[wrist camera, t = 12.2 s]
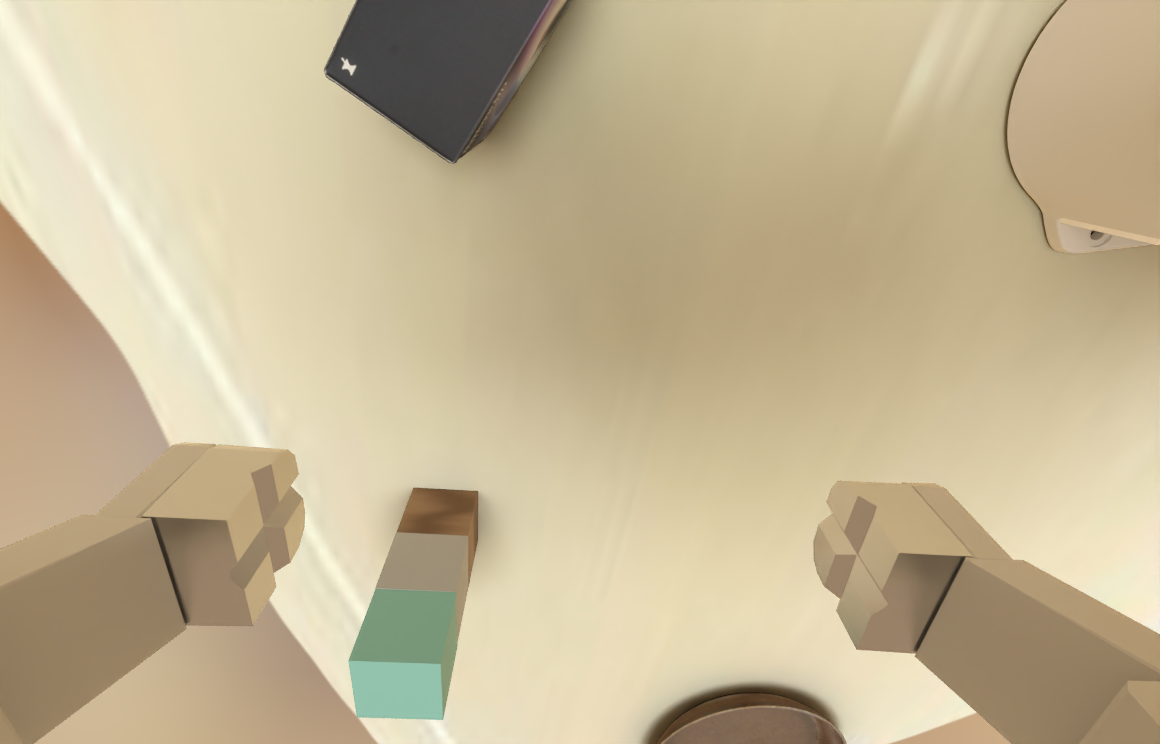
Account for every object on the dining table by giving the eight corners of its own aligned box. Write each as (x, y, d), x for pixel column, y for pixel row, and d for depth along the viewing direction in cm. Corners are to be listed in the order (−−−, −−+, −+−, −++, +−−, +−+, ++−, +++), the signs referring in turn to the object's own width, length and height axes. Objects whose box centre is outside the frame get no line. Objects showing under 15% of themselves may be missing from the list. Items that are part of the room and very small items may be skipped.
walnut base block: (477, 491, 45) (468, 535, 41) (477, 539, 47) (468, 586, 43) (413, 487, 45) (396, 532, 40) (416, 536, 47) (400, 583, 43)
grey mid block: (468, 535, 41) (455, 591, 36) (468, 586, 43) (456, 645, 38) (396, 532, 40) (375, 588, 36) (400, 583, 42) (381, 642, 38)
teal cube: (456, 592, 36) (440, 664, 32) (457, 645, 38) (442, 719, 34) (375, 588, 36) (348, 660, 31) (381, 642, 38) (357, 717, 34)
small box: (486, 149, 34) (455, 175, 24) (386, 77, 32) (311, 74, 23) (592, -25, 30) (604, -75, 21) (486, -119, 28) (446, -219, 19)
